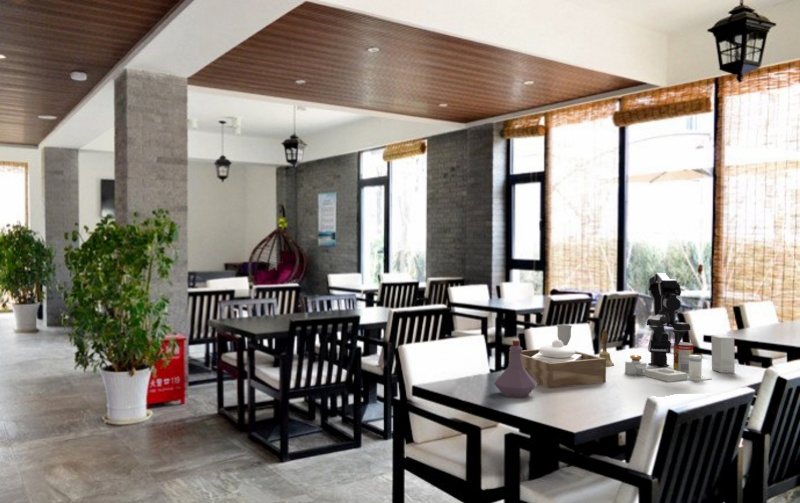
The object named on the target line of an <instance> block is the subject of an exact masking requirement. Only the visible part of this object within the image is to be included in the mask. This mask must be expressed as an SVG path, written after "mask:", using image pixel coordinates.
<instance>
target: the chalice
mask: <svg viewBox="0 0 800 503" xmlns="http://www.w3.org/2000/svg"><path fill="white" fill-rule="evenodd" d="M556 328H557V340H561V341H562V342H563V344H564V346H568V345H569V342H570V340H571V337H572V328H573V326H572V325H570V324H557V325H556Z"/></svg>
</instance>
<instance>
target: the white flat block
mask: <svg viewBox="0 0 800 503" xmlns="http://www.w3.org/2000/svg"><path fill="white" fill-rule="evenodd" d="M687 375H688V372H680V371H676V370H674V369H671V368H667V367H658V368H657V367H656V368H649V369H647V368H646V370H645V375H644V376H645V377H650V378H653V379H657V380H660V381H665V382H675V381H683V380H684V381H685V380H688V379H687Z"/></svg>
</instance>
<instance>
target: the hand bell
mask: <svg viewBox="0 0 800 503" xmlns="http://www.w3.org/2000/svg"><path fill="white" fill-rule="evenodd" d="M608 339H609V337H608V333H607V330H606V329H603V331H602V332H601V342H602V351H601V352H599V356H598V357H601V358H605V359H606V367H613V366H615V363H614V362H613V361H612V358H611V355H610V354H611V353H610V352H609V351H607V350H608V349H607V343H608Z"/></svg>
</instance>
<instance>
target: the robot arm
mask: <svg viewBox="0 0 800 503" xmlns="http://www.w3.org/2000/svg"><path fill="white" fill-rule="evenodd" d="M647 291H648V293H649V296H650V298H651V299H652V304H653V308H652V309H653V310H652V311H653V316H652V317H650V318H648V319H647V320H646V326H648V327H649V328H651V330H652V331H653V332H652V334H651V335H650V339H649V341H648V345H647V349H648V352H649V353H650V362H649V363H648V365H650V366H654V367H658V368H663V367H669V366H670V365H669V364H668V356H667V354H669V353H671V346H672V342H671V340H670V338H669V334H668V333H667V331H666V330H665V327H667V328H668V327H669V328H673V330H672V332H673V334H674V342H675V346H678V344H679V343H680V342H682V339H683V337H684V336H685V335H686V333H688V332H689V331H691V324H690V323H688V322H678V320H677V319H676V314H678V313H679V312H678V310H679V309H680V307H681V300H679V298H677V297H680V296H681V294H682V290H681V285H680V284H679V281H678V280H677V279H675V278H670V277H669V276H668V274H667V273H665V272H656V273H654V275H653V276H652V277H651V278H649V279H648V283H647Z"/></svg>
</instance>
